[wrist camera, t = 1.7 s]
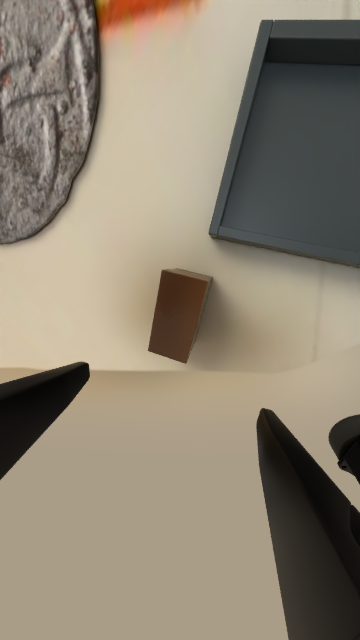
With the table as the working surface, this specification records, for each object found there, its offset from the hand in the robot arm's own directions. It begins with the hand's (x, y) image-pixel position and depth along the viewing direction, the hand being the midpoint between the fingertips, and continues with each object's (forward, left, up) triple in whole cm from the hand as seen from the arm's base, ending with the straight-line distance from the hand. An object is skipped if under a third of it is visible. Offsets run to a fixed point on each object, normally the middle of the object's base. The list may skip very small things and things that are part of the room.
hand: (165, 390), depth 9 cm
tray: (-7, -15, -12) cm, 21 cm away
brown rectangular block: (+2, -1, -12) cm, 13 cm away
